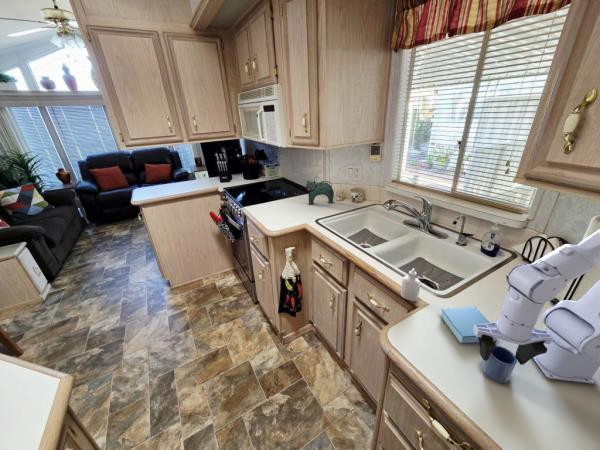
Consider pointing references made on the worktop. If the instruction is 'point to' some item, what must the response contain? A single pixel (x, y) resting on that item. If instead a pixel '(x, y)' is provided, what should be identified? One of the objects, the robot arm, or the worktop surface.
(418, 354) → the worktop surface
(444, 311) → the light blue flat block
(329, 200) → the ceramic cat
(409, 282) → the eye dropper bottle
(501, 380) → the cup
